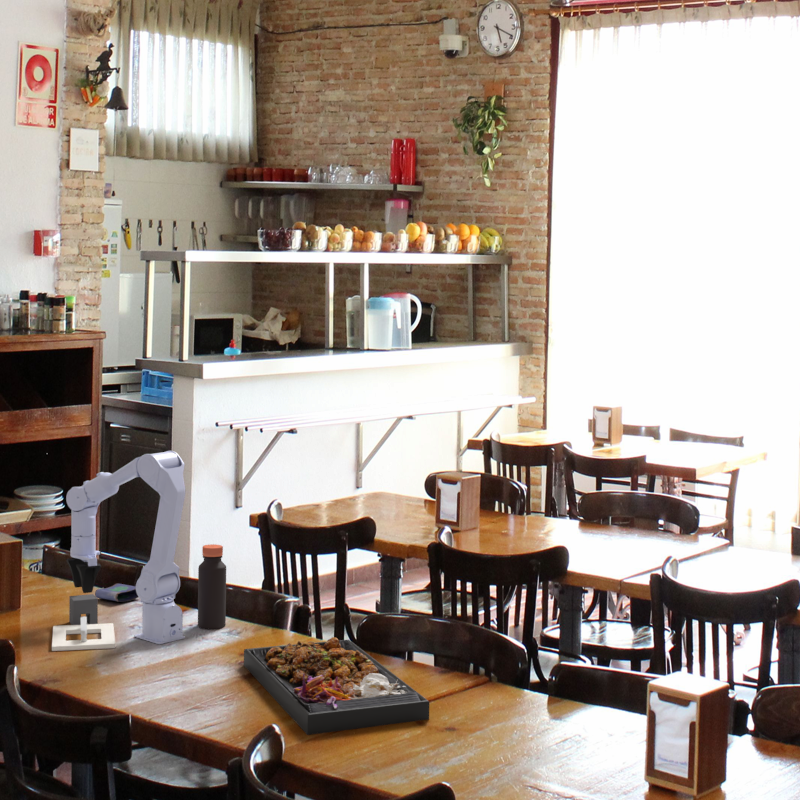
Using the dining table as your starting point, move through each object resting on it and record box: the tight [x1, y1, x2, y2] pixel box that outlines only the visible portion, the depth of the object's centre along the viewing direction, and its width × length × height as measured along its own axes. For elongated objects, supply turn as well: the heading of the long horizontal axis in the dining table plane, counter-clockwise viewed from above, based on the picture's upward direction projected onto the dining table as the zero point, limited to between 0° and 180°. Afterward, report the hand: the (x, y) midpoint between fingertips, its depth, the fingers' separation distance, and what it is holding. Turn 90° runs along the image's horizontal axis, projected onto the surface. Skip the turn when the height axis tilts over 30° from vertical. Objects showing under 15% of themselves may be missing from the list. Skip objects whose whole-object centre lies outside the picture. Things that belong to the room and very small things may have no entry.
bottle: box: [197, 543, 227, 631], centre depth 294 cm, size 7×7×20 cm
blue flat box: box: [94, 583, 139, 603], centre depth 319 cm, size 9×3×11 cm
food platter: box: [243, 636, 430, 736], centre depth 247 cm, size 45×25×10 cm, turn 22°
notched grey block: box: [68, 593, 99, 625], centre depth 295 cm, size 6×5×6 cm
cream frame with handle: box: [51, 615, 117, 652], centre depth 282 cm, size 18×14×4 cm
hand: (83, 589), depth 294 cm, fingers open, 6 cm apart
